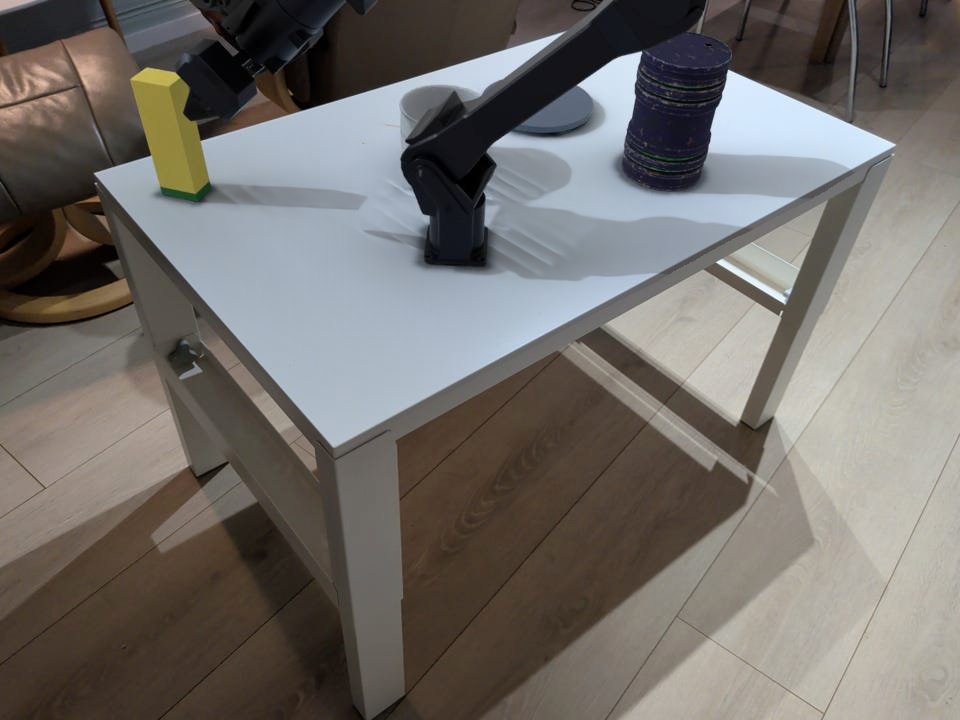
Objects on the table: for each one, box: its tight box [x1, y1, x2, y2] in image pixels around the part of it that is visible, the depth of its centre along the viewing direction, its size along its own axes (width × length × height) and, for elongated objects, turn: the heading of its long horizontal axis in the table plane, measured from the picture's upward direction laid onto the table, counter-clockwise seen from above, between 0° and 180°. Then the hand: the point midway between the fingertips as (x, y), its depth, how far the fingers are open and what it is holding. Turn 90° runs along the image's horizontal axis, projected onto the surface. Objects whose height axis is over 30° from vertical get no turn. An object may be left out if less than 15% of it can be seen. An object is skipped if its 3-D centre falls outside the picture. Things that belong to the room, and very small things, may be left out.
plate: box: [481, 79, 594, 134], centre depth 107 cm, size 15×15×1 cm
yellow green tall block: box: [129, 67, 212, 202], centre depth 86 cm, size 3×4×14 cm, turn 74°
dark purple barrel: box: [621, 31, 733, 192], centre depth 92 cm, size 10×10×15 cm
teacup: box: [398, 84, 489, 153], centre depth 93 cm, size 14×11×8 cm
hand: (212, 96), depth 81 cm, fingers open, 9 cm apart
